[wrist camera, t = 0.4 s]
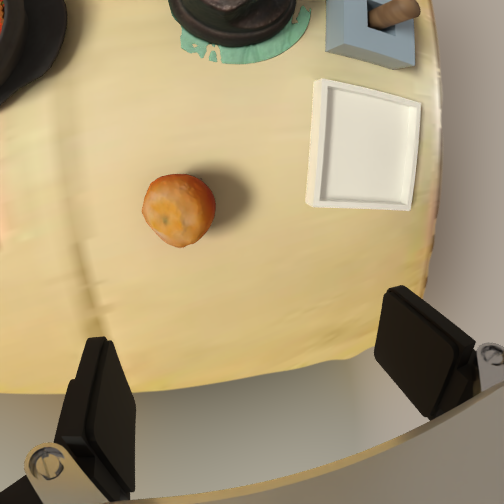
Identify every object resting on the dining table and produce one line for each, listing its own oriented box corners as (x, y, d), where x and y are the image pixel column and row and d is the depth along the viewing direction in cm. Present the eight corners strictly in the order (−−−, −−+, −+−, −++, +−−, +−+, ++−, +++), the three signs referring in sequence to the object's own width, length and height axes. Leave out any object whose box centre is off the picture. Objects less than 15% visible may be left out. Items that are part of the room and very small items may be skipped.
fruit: (237, 219, 39) (210, 250, 32) (182, 229, 42) (150, 259, 35) (216, 155, 35) (183, 173, 29) (161, 171, 38) (122, 192, 32)
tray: (313, 81, 36) (322, 78, 34) (410, 103, 40) (420, 103, 37) (305, 202, 41) (312, 207, 39) (400, 206, 45) (410, 210, 43)
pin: (355, 12, 32) (399, -9, 23) (374, 18, 33) (419, 0, 24) (356, 30, 33) (401, 12, 24) (374, 36, 34) (421, 21, 25)
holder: (326, -16, 31) (343, -29, 27) (391, 6, 34) (411, -2, 29) (325, 51, 35) (343, 43, 30) (393, 69, 37) (415, 65, 33)
